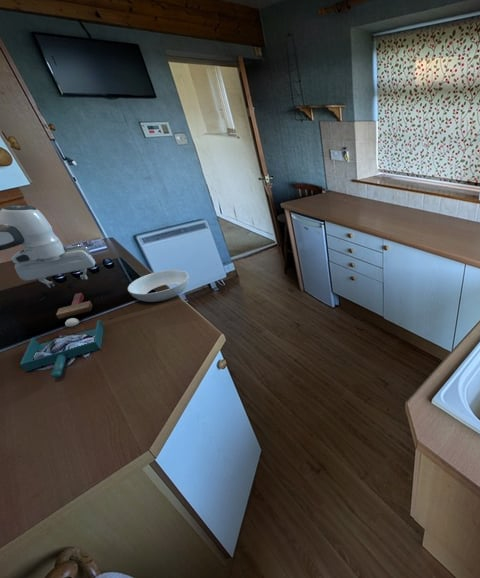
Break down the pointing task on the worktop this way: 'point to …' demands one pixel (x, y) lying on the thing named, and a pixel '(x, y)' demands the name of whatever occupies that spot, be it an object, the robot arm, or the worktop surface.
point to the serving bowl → (157, 279)
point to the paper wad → (71, 322)
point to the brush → (75, 307)
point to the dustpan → (61, 356)
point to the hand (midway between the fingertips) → (69, 282)
